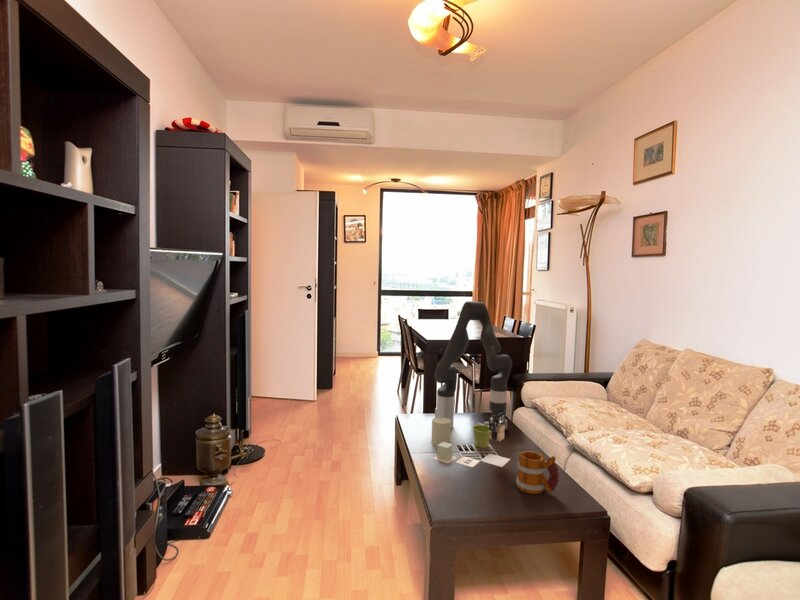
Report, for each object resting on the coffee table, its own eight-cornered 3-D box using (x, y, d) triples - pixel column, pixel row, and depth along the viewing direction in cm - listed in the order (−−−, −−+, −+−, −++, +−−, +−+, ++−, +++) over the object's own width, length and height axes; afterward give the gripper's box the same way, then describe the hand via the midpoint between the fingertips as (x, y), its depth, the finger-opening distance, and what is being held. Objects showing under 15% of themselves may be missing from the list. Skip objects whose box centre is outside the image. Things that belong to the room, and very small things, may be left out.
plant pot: (490, 442, 218) (491, 425, 218) (492, 450, 209) (493, 432, 209) (471, 441, 219) (472, 424, 219) (472, 449, 210) (473, 431, 209)
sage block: (437, 458, 198) (437, 445, 197) (442, 454, 202) (443, 441, 202) (447, 461, 195) (447, 447, 195) (452, 457, 199) (452, 444, 199)
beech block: (489, 438, 196) (489, 425, 196) (493, 435, 200) (494, 422, 200) (499, 441, 193) (500, 428, 193) (504, 438, 198) (504, 424, 197)
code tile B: (432, 459, 197) (432, 458, 197) (441, 453, 204) (441, 452, 204) (448, 463, 193) (448, 463, 193) (456, 457, 200) (456, 457, 200)
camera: (510, 409, 234) (483, 411, 231) (509, 431, 235) (483, 433, 232) (502, 404, 243) (476, 406, 239) (501, 425, 244) (476, 427, 240)
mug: (522, 478, 182) (523, 442, 181) (562, 491, 171) (564, 453, 170) (510, 487, 173) (512, 450, 172) (552, 502, 163) (554, 462, 162)
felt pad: (480, 461, 196) (480, 460, 196) (489, 454, 205) (489, 453, 204) (501, 467, 191) (501, 466, 191) (510, 460, 199) (510, 459, 199)
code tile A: (455, 462, 194) (455, 462, 194) (463, 456, 201) (463, 456, 201) (472, 467, 190) (472, 467, 190) (480, 461, 196) (480, 460, 196)
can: (446, 439, 221) (447, 415, 220) (453, 446, 212) (454, 421, 212) (428, 440, 219) (429, 416, 218) (434, 447, 210) (435, 423, 209)
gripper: (496, 394, 204) (495, 431, 205) (483, 401, 192) (482, 440, 193) (512, 397, 200) (510, 434, 201) (500, 405, 188) (498, 444, 189)
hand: (496, 437), depth 197 cm, fingers closed on beech block, 5 cm apart
